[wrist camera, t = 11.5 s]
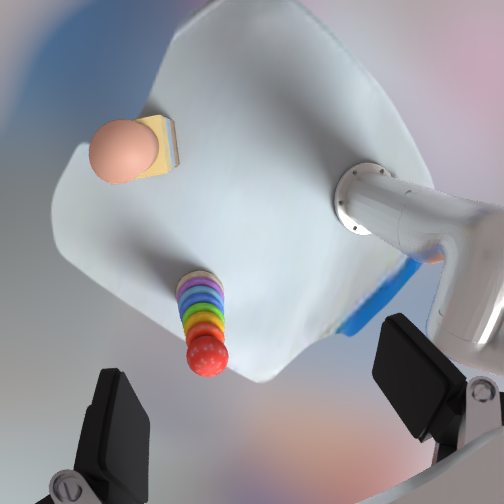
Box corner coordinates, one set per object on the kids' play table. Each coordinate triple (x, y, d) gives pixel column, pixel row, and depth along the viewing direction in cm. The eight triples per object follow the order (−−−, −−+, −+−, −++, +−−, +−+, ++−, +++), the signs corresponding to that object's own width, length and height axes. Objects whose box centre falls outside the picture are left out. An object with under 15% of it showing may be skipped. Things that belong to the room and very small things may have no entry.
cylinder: (156, 118, 24) (145, 113, 19) (162, 169, 26) (153, 177, 21) (106, 129, 24) (85, 127, 18) (113, 178, 26) (94, 189, 20)
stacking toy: (176, 310, 49) (172, 391, 32) (176, 267, 46) (168, 341, 29) (221, 311, 50) (236, 390, 33) (225, 269, 48) (243, 342, 31)
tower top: (165, 118, 29) (160, 114, 24) (171, 168, 31) (167, 173, 26) (116, 128, 28) (103, 127, 23) (123, 177, 30) (111, 184, 26)
